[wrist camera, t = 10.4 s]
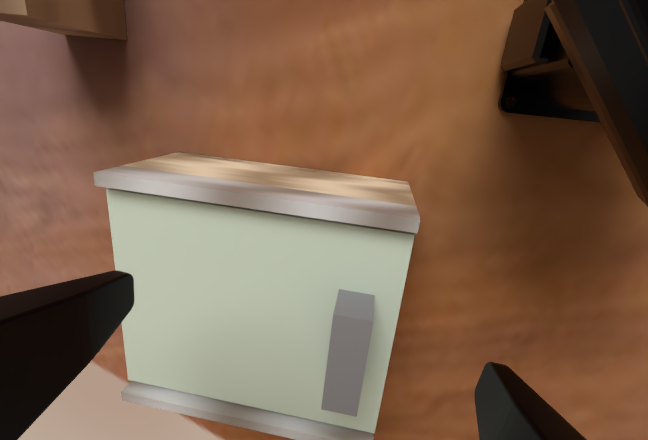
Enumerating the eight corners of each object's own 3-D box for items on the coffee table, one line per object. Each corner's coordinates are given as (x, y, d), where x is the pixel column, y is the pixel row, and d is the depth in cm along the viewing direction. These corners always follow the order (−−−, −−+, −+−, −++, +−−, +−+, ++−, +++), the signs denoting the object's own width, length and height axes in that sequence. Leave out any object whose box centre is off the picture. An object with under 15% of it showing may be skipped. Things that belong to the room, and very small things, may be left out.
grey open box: (408, 181, 20) (420, 218, 13) (374, 363, 24) (371, 456, 18) (179, 151, 21) (93, 172, 15) (186, 326, 26) (122, 400, 19)
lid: (412, 226, 15) (419, 254, 12) (374, 417, 19) (373, 472, 16) (121, 184, 17) (68, 200, 14) (139, 367, 20) (101, 408, 18)
